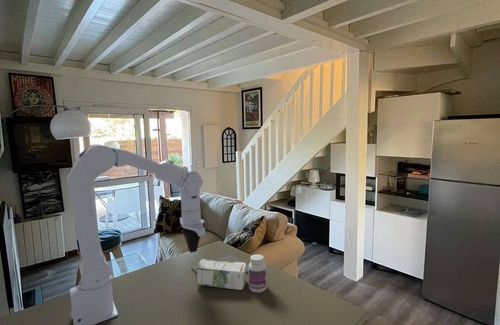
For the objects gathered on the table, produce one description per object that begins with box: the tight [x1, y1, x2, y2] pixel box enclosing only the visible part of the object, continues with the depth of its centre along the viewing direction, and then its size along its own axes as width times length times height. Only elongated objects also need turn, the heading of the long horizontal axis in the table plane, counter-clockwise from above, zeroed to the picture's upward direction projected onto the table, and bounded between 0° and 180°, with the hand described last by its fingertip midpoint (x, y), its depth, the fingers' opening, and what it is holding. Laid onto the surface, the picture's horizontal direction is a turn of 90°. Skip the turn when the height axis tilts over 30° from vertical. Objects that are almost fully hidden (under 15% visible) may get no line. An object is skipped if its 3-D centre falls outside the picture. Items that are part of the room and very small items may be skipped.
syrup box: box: [195, 258, 247, 291], centre depth 83 cm, size 6×6×14 cm
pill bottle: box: [248, 254, 267, 293], centre depth 80 cm, size 5×5×10 cm
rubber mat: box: [191, 254, 249, 288], centre depth 92 cm, size 16×14×1 cm
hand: (193, 251), depth 85 cm, fingers closed
